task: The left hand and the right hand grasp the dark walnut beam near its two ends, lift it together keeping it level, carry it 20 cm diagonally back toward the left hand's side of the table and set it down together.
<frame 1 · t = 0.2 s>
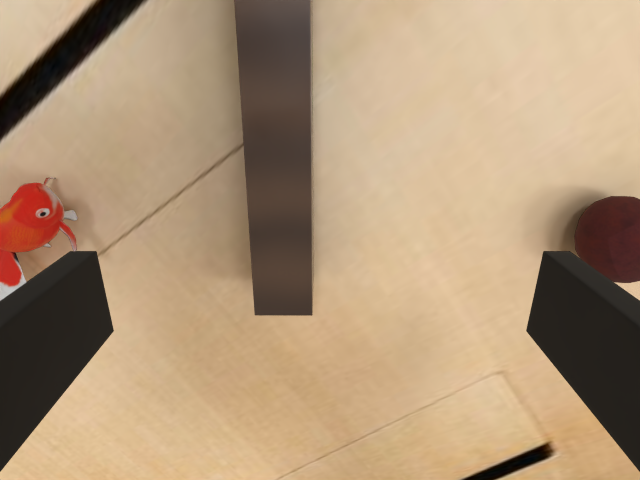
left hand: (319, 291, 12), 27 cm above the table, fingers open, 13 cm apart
beam: (285, 139, 37), on the table
fish: (42, 232, 41), on the table
dark maroon ball: (596, 224, 40), on the table
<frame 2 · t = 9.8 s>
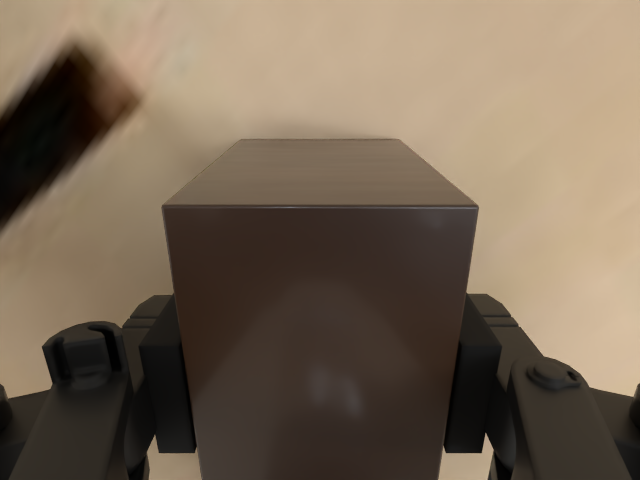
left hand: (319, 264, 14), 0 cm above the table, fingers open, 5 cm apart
beam: (319, 464, 18), on the table, touching right hand
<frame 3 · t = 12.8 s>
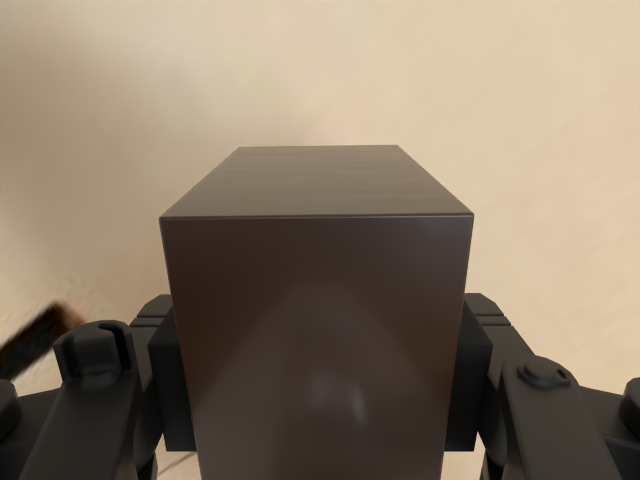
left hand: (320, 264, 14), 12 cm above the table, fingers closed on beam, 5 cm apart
beam: (323, 470, 18), point 12 cm above the table, touching left hand, right hand
when the left hand's fingers open (1 cm above the table, at t = 15.4 s): beam drops 1 cm, on the table.
when the right hand's fingers open (1 cm above the table, at t = 15.4 s): beam drops 1 cm, on the table.
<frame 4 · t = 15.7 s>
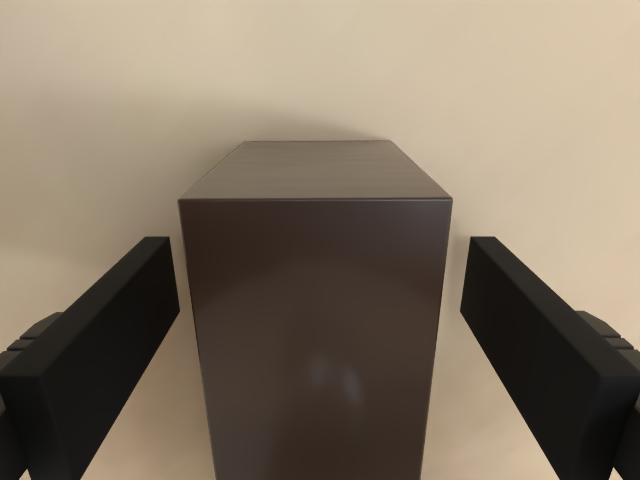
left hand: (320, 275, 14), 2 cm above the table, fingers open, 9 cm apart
beam: (319, 449, 19), on the table
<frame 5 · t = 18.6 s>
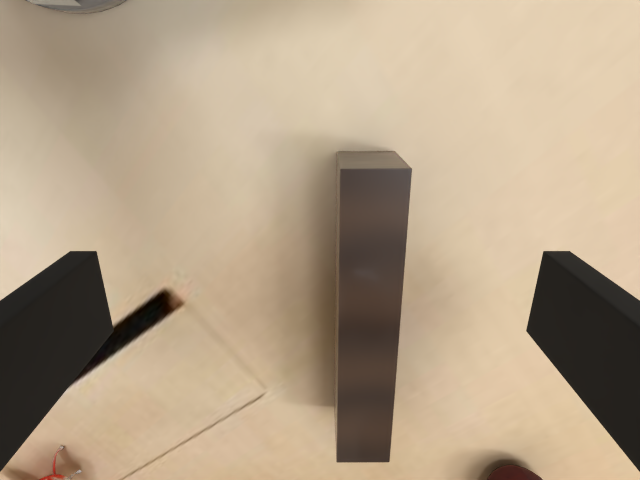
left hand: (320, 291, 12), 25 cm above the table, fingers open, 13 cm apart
beam: (360, 295, 41), on the table
fish: (53, 478, 50), on the table
dark maroon ball: (504, 472, 49), on the table
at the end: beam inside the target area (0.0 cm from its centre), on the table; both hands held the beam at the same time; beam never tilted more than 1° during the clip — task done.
